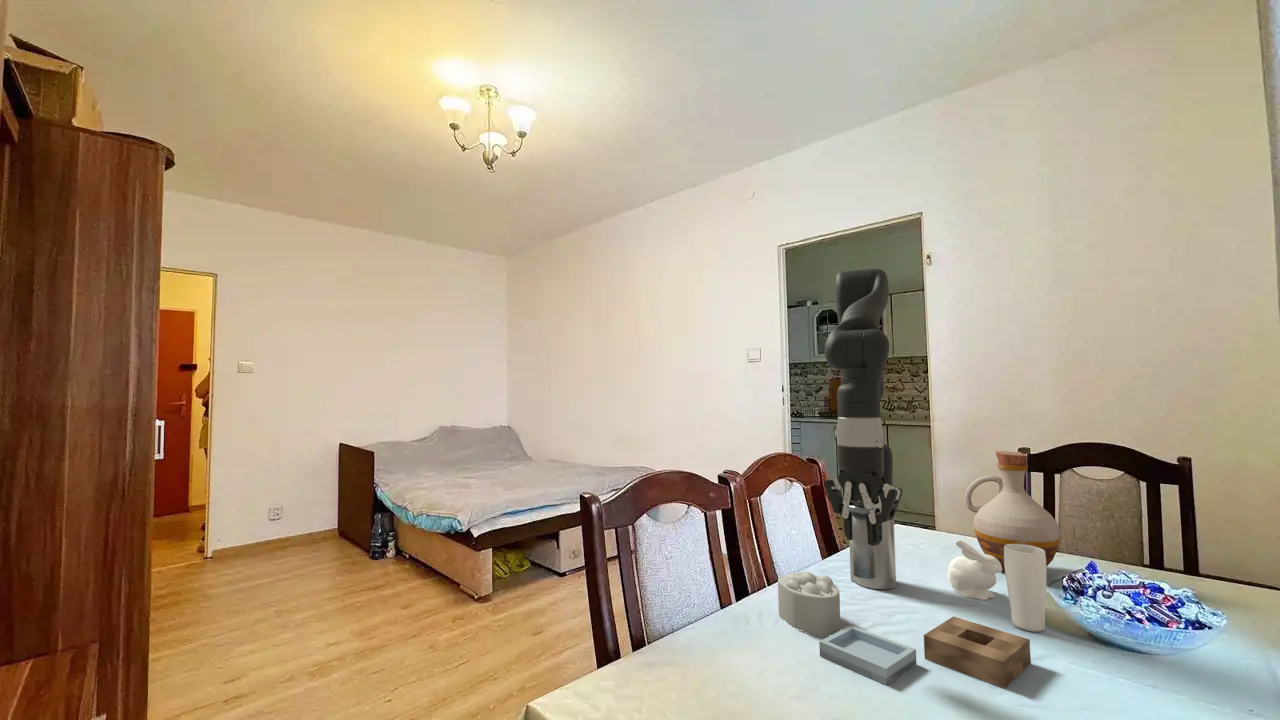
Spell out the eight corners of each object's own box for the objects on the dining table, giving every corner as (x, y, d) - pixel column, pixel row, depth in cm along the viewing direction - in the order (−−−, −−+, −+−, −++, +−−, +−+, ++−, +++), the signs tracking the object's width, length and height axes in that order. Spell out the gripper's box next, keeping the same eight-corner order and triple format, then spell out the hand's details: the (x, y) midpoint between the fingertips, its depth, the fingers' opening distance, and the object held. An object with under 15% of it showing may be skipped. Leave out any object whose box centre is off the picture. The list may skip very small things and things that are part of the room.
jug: (965, 574, 134) (959, 453, 135) (970, 555, 148) (965, 446, 150) (1065, 590, 123) (1058, 458, 124) (1059, 568, 137) (1053, 450, 139)
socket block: (924, 658, 93) (923, 634, 93) (954, 638, 100) (953, 616, 100) (1004, 688, 83) (1003, 662, 83) (1030, 663, 91) (1029, 639, 91)
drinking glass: (1057, 636, 100) (1053, 554, 101) (1017, 633, 102) (1013, 552, 103) (1038, 620, 107) (1034, 544, 108) (1000, 618, 108) (997, 542, 109)
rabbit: (1008, 601, 117) (1005, 545, 118) (974, 606, 115) (971, 549, 115) (962, 582, 129) (959, 531, 129) (929, 586, 126) (927, 534, 127)
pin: (843, 574, 94) (841, 504, 94) (858, 568, 97) (856, 501, 97) (870, 582, 90) (867, 509, 91) (884, 575, 93) (882, 505, 93)
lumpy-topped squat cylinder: (815, 606, 116) (814, 565, 116) (854, 632, 103) (853, 586, 103) (772, 612, 113) (771, 570, 113) (806, 639, 100) (805, 592, 101)
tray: (819, 655, 94) (819, 641, 94) (850, 639, 100) (850, 625, 100) (886, 685, 85) (886, 668, 85) (916, 664, 91) (915, 649, 91)
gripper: (812, 441, 98) (815, 537, 97) (888, 447, 87) (892, 556, 86) (835, 438, 102) (838, 530, 101) (910, 444, 91) (914, 547, 90)
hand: (863, 541), depth 94 cm, fingers closed on pin, 3 cm apart
